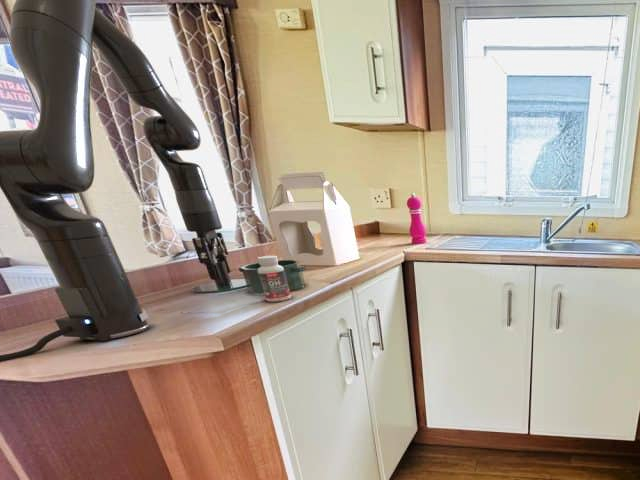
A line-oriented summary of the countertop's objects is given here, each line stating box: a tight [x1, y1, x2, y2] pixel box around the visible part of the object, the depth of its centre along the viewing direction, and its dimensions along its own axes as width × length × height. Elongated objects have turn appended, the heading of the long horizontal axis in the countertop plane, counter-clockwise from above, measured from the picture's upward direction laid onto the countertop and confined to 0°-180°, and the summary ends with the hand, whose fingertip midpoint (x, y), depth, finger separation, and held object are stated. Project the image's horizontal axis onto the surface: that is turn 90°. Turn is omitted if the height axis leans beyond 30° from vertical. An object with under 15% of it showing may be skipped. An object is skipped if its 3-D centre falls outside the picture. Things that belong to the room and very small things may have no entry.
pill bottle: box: [257, 255, 292, 303], centre depth 97 cm, size 5×5×10 cm
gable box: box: [268, 171, 360, 267], centre depth 142 cm, size 22×13×28 cm, turn 73°
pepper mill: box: [406, 192, 427, 245], centre depth 181 cm, size 7×7×20 cm
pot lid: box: [191, 260, 247, 294], centre depth 112 cm, size 14×14×7 cm
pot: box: [238, 259, 307, 294], centre depth 109 cm, size 13×19×6 cm
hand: (221, 276), depth 112 cm, fingers open, 7 cm apart
